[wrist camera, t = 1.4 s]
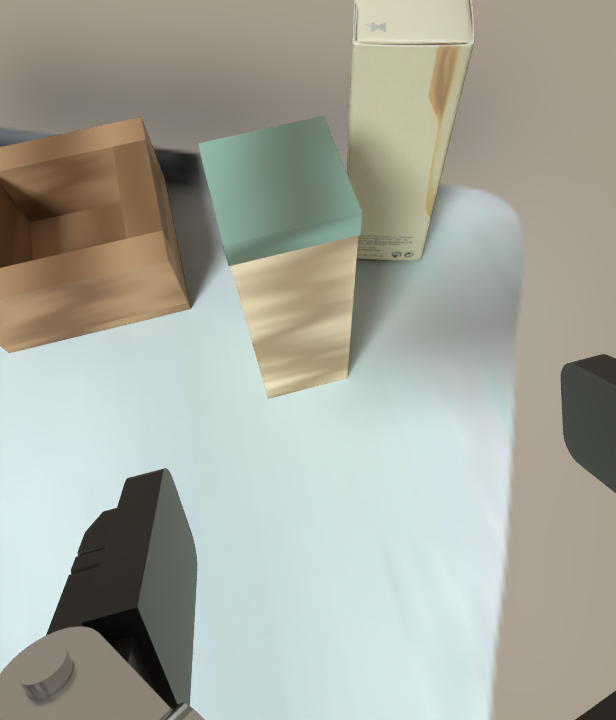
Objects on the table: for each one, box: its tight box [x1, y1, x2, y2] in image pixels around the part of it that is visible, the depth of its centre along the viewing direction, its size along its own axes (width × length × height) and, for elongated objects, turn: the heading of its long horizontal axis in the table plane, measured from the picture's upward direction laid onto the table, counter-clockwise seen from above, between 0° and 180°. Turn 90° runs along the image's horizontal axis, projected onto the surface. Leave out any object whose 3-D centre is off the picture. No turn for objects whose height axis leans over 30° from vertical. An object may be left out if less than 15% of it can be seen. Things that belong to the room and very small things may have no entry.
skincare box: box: [347, 0, 474, 260], centre depth 25 cm, size 6×4×12 cm
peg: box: [198, 116, 362, 399], centre depth 22 cm, size 4×4×12 cm
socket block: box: [0, 117, 190, 353], centre depth 28 cm, size 10×10×4 cm
